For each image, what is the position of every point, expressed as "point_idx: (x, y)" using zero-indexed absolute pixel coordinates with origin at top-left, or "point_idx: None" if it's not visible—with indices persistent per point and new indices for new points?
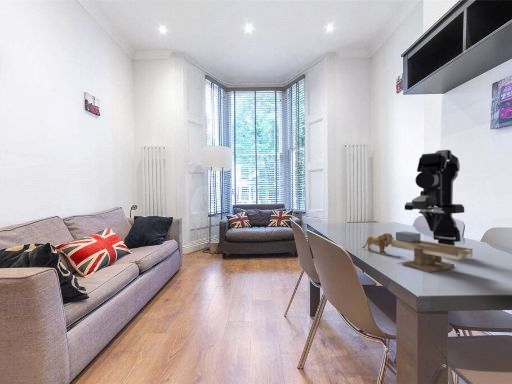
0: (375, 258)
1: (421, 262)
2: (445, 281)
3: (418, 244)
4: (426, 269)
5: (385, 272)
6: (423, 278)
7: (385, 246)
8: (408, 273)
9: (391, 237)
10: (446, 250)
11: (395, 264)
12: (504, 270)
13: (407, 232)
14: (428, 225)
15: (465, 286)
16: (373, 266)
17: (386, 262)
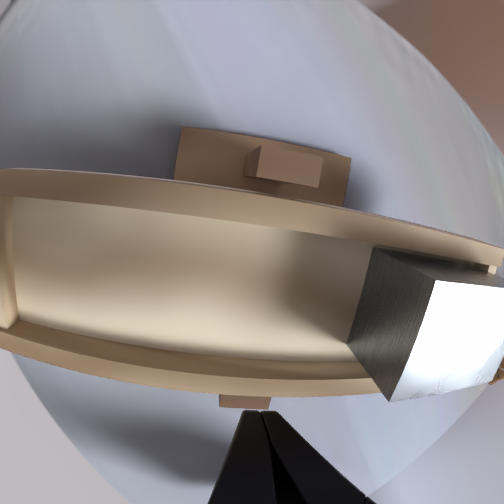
0: (471, 191)
1: (247, 163)
2: (77, 58)
3: (316, 208)
4: (197, 129)
5: None
6: (157, 16)
7: None
8: (243, 31)
9: (502, 361)
10: (48, 172)
11: (375, 147)
12: (55, 413)
13: (475, 360)
14: (320, 457)
15: (17, 72)
16: (406, 41)
17: (417, 153)
